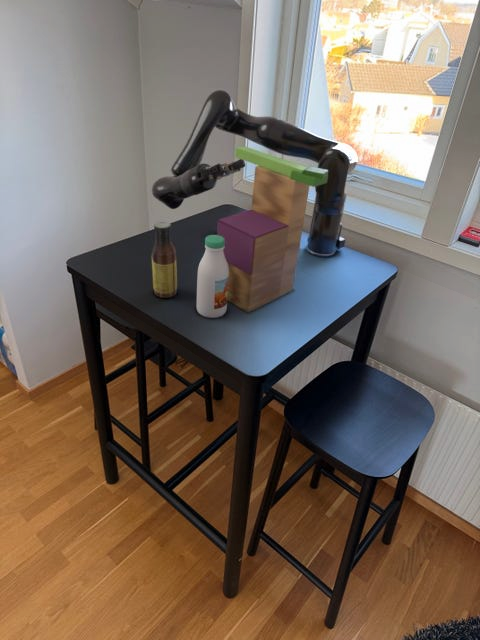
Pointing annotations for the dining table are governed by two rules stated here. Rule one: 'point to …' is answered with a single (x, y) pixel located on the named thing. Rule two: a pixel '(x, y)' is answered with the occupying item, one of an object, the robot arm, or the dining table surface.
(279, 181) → the oak stand
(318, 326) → the dining table surface
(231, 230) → the towel
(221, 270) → the milk bottle
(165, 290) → the sauce bottle
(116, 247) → the dining table surface
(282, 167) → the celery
